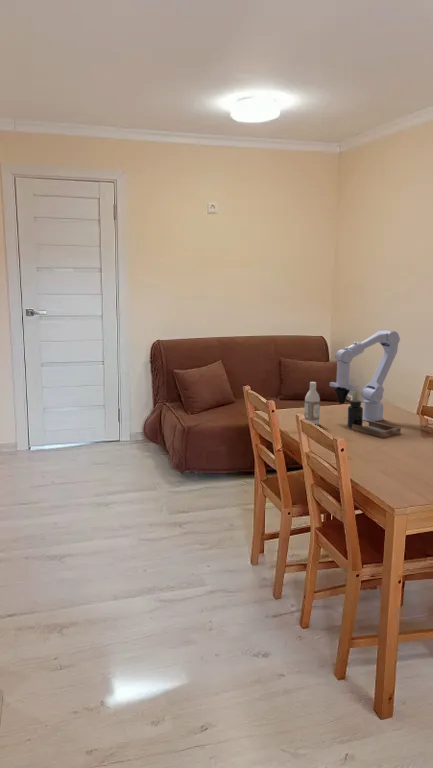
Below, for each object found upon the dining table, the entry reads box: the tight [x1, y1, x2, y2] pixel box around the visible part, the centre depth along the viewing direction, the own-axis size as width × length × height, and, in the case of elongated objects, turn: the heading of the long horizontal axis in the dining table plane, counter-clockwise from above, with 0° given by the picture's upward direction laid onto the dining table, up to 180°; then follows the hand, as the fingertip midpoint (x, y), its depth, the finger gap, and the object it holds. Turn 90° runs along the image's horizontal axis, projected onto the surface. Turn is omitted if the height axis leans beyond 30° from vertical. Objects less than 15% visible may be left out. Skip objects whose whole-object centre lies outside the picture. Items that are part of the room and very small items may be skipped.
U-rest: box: [351, 421, 401, 439], centre depth 262 cm, size 13×16×2 cm
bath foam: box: [303, 381, 321, 426], centre depth 273 cm, size 7×7×20 cm
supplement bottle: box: [346, 399, 364, 428], centre depth 271 cm, size 7×7×12 cm
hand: (341, 403), depth 277 cm, fingers closed
